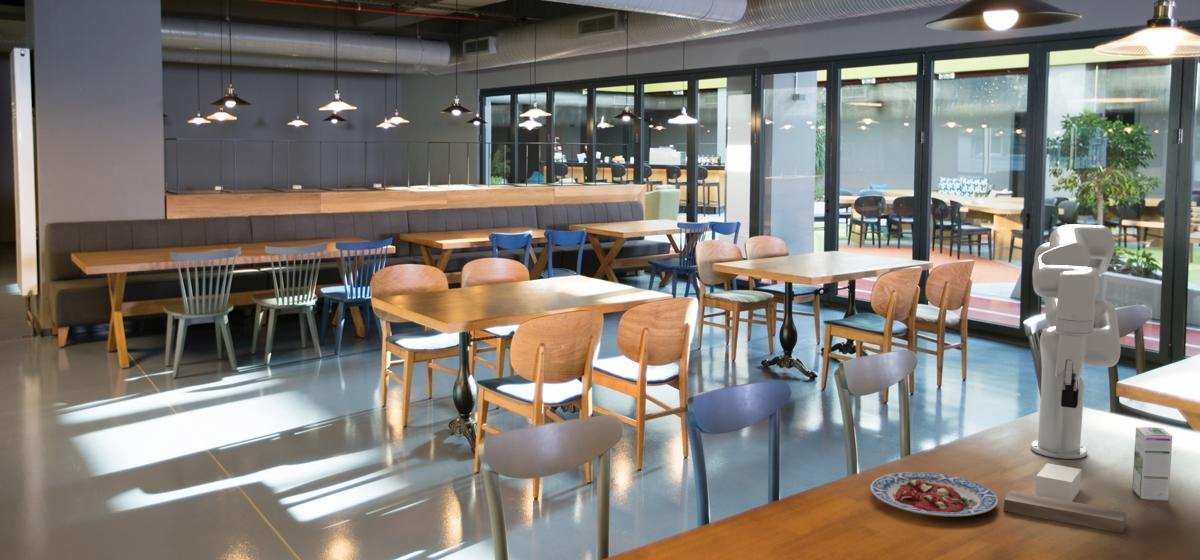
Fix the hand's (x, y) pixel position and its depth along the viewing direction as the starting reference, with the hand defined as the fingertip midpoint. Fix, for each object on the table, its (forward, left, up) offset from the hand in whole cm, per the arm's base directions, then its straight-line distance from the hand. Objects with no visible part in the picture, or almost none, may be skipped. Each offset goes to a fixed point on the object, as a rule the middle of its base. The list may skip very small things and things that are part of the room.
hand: (1069, 406), depth 216 cm
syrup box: (+1, +17, -17) cm, 24 cm away
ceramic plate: (+29, -22, -18) cm, 41 cm away
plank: (+24, +3, -17) cm, 30 cm away
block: (+10, 0, -17) cm, 20 cm away
